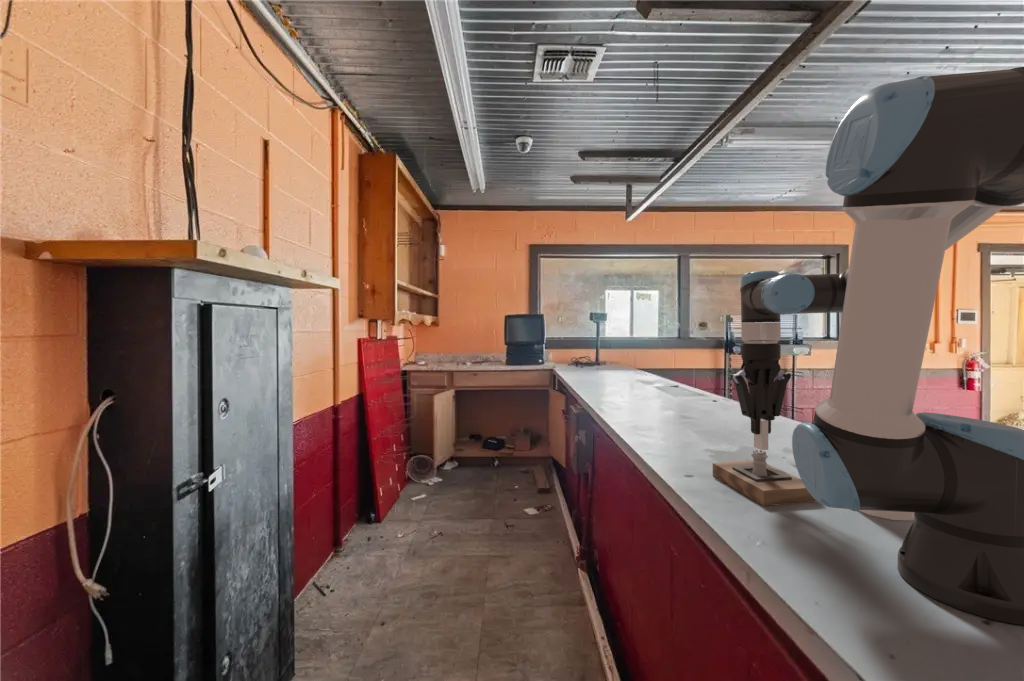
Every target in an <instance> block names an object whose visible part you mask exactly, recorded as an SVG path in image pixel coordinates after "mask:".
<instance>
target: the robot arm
mask: <svg viewBox="0 0 1024 681" xmlns="http://www.w3.org/2000/svg"><path fill="white" fill-rule="evenodd" d="M825 163H826V164H825V176H826V178H827V181H826V183H827V186H828V187H829V189H830V190H831V192H832V193H834V194H837V195H839V196H843V197H844V198H843V203H842V211H843V212H844V213H845V214H846V215H848V217H849V218H851V220H853V222H854V230H853V232H854V233H853V236H852V238H853V239H852V245H851V252H850V258H849V266H848V267H847V268H846V269H845V270H844V271H843V272H841V273H822V274H800V273H782V274H780V272H778V271H777V270H758V271H757V270H756V271H752V272H746V273H744V274H743V275H742V276H741V280H740V289H739V291H740V316H741V318H740V319H741V320H740V324H741V326H740V328H741V329H740V330H741V331H740V333H741V340H742V341H743V342H744V343H742V344H741V349H740V350H741V354H740V355H741V356H740V357H741V359H742V364H741V366H740V370H739V371H738V372H737V373H732V374H731V375H730V379H731V380H732V382H733V383H734V386H735V389H736V395H737V399H738V403H739V407H740V412H741V414H742V416H745V417H748V418H749V419H750V432H751V433H752V434H753V447H754V448H755V449H757V450H759V451H760V450H762V451H769V435H770V434H771V432H772V421H775V420H776V417H780V415H781V412H782V409H783V408H782V406H783V404H784V403H783V402H784V398H785V394H786V393H785V392H786V390H787V384H788V383H789V381H790V379H791V378H792V375H791V373H789V372H785V371H783V370H782V368H781V365H780V363H779V361H780V360H781V357H782V355H781V350H782V349H781V344H780V343H779V341H780V340H781V338H782V332H781V330H782V329H781V315H795V314H796V315H797V314H798V315H799V314H800V315H802V314H827V313H828V314H829V313H831V314H832V313H833V314H835V313H842V314H841V320H840V327H839V334H838V340H837V348H836V354H835V361H834V368H833V375H832V381H831V388H830V395H829V397H827V398H826V399H824V400H822V401H820V402H818V403H817V404H816V405H815V408H814V413H813V421H812V422H811V421H804V422H801V423H799V424H797V425H796V427H794V429H793V432H792V437H791V447H792V448H791V449H792V454H793V459H794V460H793V461H794V463H795V467H796V469H797V470H796V471H797V472H798V475H799V479H801V480H802V482H803V484H804V486H805V487H806V489H807V491H808V492H809V493H810V494H811V496H812V497H813V498H814V499H815V500H816V501H818V502H817V503H819V504H820V505H822V506H824V507H827V508H833V509H843V510H850V511H853V512H858V511H859V510H874V511H897V512H914V520H912V524H911V525H910V527H909V529H908V531H907V533H906V535H905V538H904V539H903V542H902V544H901V546H900V548H899V549H898V552H897V572H898V573H899V576H901V577H902V578H903V580H904V581H905V582H907V583H908V584H909V585H911V586H912V587H913V588H915V589H917V590H919V591H920V592H922V593H923V594H925V595H927V596H928V597H930V598H933V599H935V600H937V601H939V602H941V603H943V604H946V605H948V606H951V607H953V608H956V609H958V610H961V611H964V612H966V613H969V614H972V615H975V616H979V617H983V618H985V619H990V620H994V621H998V622H1002V623H1003V622H1004V623H1009V624H1013V625H1021V626H1024V429H1022V428H1019V427H1016V426H1012V425H1008V424H1003V423H998V422H997V423H996V422H994V421H989V420H988V421H987V420H982V419H978V418H977V419H976V418H970V417H965V416H964V417H963V416H958V415H951V414H946V413H945V414H944V413H937V412H917V413H916V414H915V412H913V410H914V405H915V400H916V395H917V390H918V387H919V386H918V385H919V381H920V375H921V372H922V371H921V370H922V366H923V361H924V357H925V356H924V355H925V351H926V347H927V346H926V345H927V343H928V336H929V331H930V326H931V320H932V317H933V312H934V307H935V301H936V296H937V291H938V287H939V283H940V278H941V273H942V267H943V263H944V257H945V253H946V251H947V250H948V249H950V248H951V247H952V246H954V245H955V244H957V243H958V242H959V241H960V240H962V239H963V238H965V237H966V236H967V235H969V234H970V233H972V232H973V231H974V230H975V229H977V228H978V227H979V226H981V225H983V223H985V222H986V221H988V220H990V218H992V217H993V216H995V215H996V214H997V213H999V212H1000V211H1002V210H1003V209H1005V208H1011V207H1017V206H1020V205H1023V204H1024V66H1018V67H1014V68H1010V69H999V70H998V69H997V70H987V71H975V72H974V71H973V72H964V73H962V72H961V73H950V74H949V73H948V74H941V75H939V74H938V75H929V76H927V75H924V76H923V75H922V76H918V77H915V78H911V79H910V78H909V79H905V80H899V81H895V82H887V83H883V84H880V85H878V86H876V87H873V88H871V89H870V90H868V91H867V92H865V94H863V95H862V96H860V97H859V99H857V100H856V102H854V104H852V106H850V109H849V110H848V111H847V112H846V114H845V115H844V117H843V119H842V120H841V121H840V123H839V125H838V126H837V129H836V131H835V134H834V135H833V138H832V141H831V143H830V145H829V149H828V154H827V158H826V162H825Z"/></svg>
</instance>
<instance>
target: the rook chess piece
mask: <svg viewBox="0 0 1024 681" xmlns="http://www.w3.org/2000/svg"><path fill="white" fill-rule="evenodd" d="M751 457H752V458H753V460H751V461H752V462H753V472H752V474H754V475H756V476H767V472H766V464H768V463H767V459H768V458H769V457H768V455H767V452H766V450H760V449H754V450H752V453H751Z"/></svg>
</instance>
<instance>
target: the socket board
mask: <svg viewBox="0 0 1024 681" xmlns="http://www.w3.org/2000/svg"><path fill="white" fill-rule="evenodd" d="M752 461H753V460H742V461H741V460H740V461H739V460H738V461H723V462H712V476H713V477H715V478H717V479H719V480H720V481H722V482H723V483H725V484H727V485H728V486H730V487H731V488H734V489H735V490H737V491H738V492H740V493H742V494H744V495H745V496H747V497H749V498H750V499H752V500H753V501H755V502H757V503H759V504H760V505H762V506H773V505H774V506H775V505H776V506H777V504H778V505H791V504H805V503H819V502H818V501H816V500H815V499H814V498H813V497H812V496H811V494H810V493H809V492H808V491H807V489H806V487H805V486H804V484H803V482H802V480H801V478H800V477H797V476H795V475H792V474H790V473H788V472H785V471H784V470H782V469H779V468H777V467H774V466H773V465H770V464H768V463H767V464H766V472H767V476H756V475H754V474H752V472H753V462H752Z"/></svg>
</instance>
